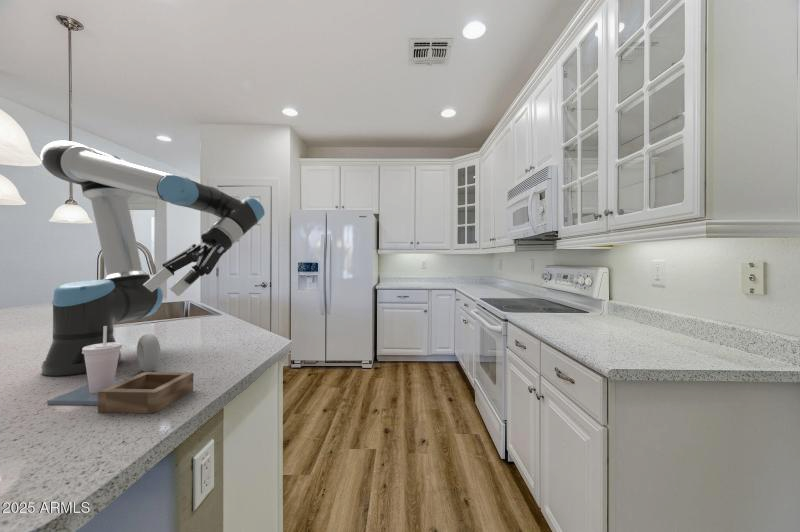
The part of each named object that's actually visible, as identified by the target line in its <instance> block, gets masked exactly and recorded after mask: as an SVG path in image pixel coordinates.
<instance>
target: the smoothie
mask: <svg viewBox="0 0 800 532" xmlns="http://www.w3.org/2000/svg"><path fill="white" fill-rule="evenodd" d="M122 346H123V344H122V342H110V343H107V326H103V343H100V344H93V345H89V346H86V347H83V348H82V353H83V354H84V357H85V364H86V371H87V373H86V375H87V377H86V378H87V382H88V383H87V385H89V391H90V393H98V391H101V390H103V389H106V388H108V387H110V386H113V385H114V380H116V379H115V378H116V373H117V369H118V364H119V363H118V358H119V352H121V350H122V348H123V347H122ZM117 363H118V364H117Z"/></svg>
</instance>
